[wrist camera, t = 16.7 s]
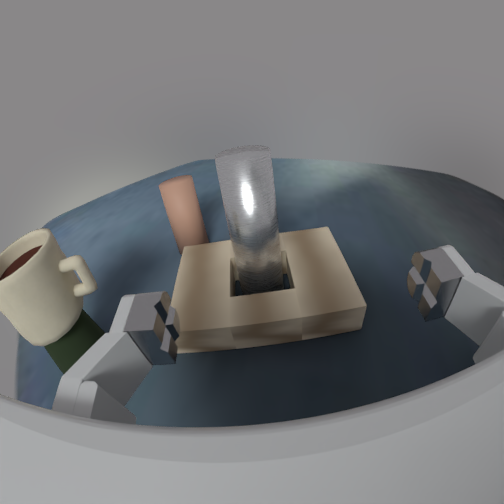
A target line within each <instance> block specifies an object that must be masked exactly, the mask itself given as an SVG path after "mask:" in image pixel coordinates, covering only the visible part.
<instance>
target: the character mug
mask: <svg viewBox="0 0 504 504" xmlns="http://www.w3.org/2000/svg"><path fill="white" fill-rule="evenodd" d="M73 270H76V271H77V273H78V275H79V277H80V279H81V280H82V282H83V283H80V281H79V280H78V278H77V276H76V274H75V272H74V271H73ZM96 289H97V283H96V281H95V279H94V277H93V275H92V273H91V272H90V270H89V268H88V266H87V264H86V262H85V260H84V259H83V258H82V257H81V256H80V255H74V256H71V257H68V258H66V256H65V254H64V253H63V252H62V251H61V249H60V247H59V245H58V243H57V241H56V239H55V237H54V236H53V234H52V233H51V231H50V229H46V228H41V229H37V230H35V231H32V232H30V233H28V234H26V235H24V236H22V237H21V238H19V239H18V240H16V241H15V242H13V243H12V244H11V245H10V246H9V247H7V248H6V249H5V250H4V251H3V252H2V253H1V254H0V311H1V312H2V313H3V314H4V315H5V316H7V318H8V319H9V320H10V321H11V323H12V324H13V325H14V327H15V328H16V329H17V331H18V332H19V333H20V334H21V335H22V336H23V337H24V338H25V339H26V340H28V341H29V342H30V343H31V344H33V345H34V346H44V347H45V349H46V350H47V352H48V353H49V354H50V356H51V357H52V359H53V360H54V362H55V363H56V365H57V366H58V367H59V369H60V370H61V371H62V372H63V374H65V373H66V372H67V371H68V370H69V369H70V368H71V367H72V366H73V365H74V364H75V363H76V362H77V361H78V360H79V359H80V358H81V357H82V356H83V355H84V354H85V353H86V352H87V351H88V350H89V349H90V348H91V347H92V346H93V345H94V344H95V343H96V342H97V341H98V340H99V339H100V338H101V337H102V336H103V335H104V334H105V332H104V331H103V330H102V329H101V328H100V327H99V326H98V325H97V324H96V323H95V322H94V321H93V320H92V319H91V318H90V316H89V315H88V314H87V313H86V312H85V311H84V310H83V309H82V308H83V296H84V295H88V294H91V293H92V292H94V291H95V290H96Z"/></svg>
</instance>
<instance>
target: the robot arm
mask: <svg viewBox="0 0 504 504" xmlns="http://www.w3.org/2000/svg"><path fill="white" fill-rule="evenodd" d="M411 262H412V264H413V267H412V269H411V270H410V271H409V273H408V277H407V285H408V290H409V293H410V295H411V296H412V298H413V299H415V300H416V301H418V302H419V303H418V309H419V311H420V313H421V314H422V316H423V318H424V320H425V322H426V321H430V320H434V319H437V318H440V317H444V316H445V317H444V318H446V319H447V320H448V321H449V322H451V323H452V324H453V325H455V326H456V327H457V328H458V329H459V330H461V331H462V332H463V333H464V334H466V335H467V336H468V337H469V338H471V339H472V340H473V341H474V342H475V343H477V344H478V345H479V346H480V347H479V348H478V350H477V351H476V353H475V354H474V356H473V360H474V362H475V365H473V366H471V367H469V368H467V369H464V370H462V371H460V372H458V373H456V374H453V375H451V376H449V377H447V378H444V379H442V380H439V381H437V382H434V383H432V384H429V385H427V386H424V387H421V388H419V389H416V390H413V391H410V392H407V393H404V394H401V395H398V396H395V397H392V398H389V399H386V400H382V401H379V402H375V403H372V404H368V405H365V406H361V407H357V408H353V409H349V410H344V411H340V412H335V413H331V414H326V415H321V416H315V417H310V418H304V419H297V420H291V421H284V422H276V423H267V424H257V425H245V426H229V427H163V426H147V425H136V417H135V415H134V414H133V413H131V412H130V411H129V410H128V409H126V408H125V407H124V406H125V405H126V404H127V402H128V401H129V399H130V398H131V396H132V395H133V394H134V392H135V391H136V389H137V388H138V386H139V385H140V384H141V382H142V381H143V379H144V378H145V377H146V375H147V374H148V372H149V371H150V370H151V368H152V367H153V366H152V365H166V364H176V357H177V350H178V346H177V345H176V343H175V341H176V339H177V338H178V337H179V336H180V319H179V316H178V313H177V311H176V309H175V308H173V307H172V306H170V302H171V299H170V297H169V295H168V293H167V292H165V291H162V292H151V293H140V294H133V295H124V296H123V297H122V298H121V301H120V304H119V306H118V309H117V312H116V314H115V317H114V320H113V323H112V326H111V329H110V332H109V333H105V334H104V335H103V336H102V337H101V338H100V339H99V340H98V341H97V342H96V343H95V344H94V345H93V346H92V347H91V348H90V349H89V350H88V351H87V352H86V353H85V354H84V355H83V356H82V357H81V358H80V359H79V360H78V361H77V362H76V363H75V364H74V365H73V366H72V367H71V368H70V369H69V370H68V371H67V372H66V373H65V374H64V375H63V376H62V377H61V380H60V384H59V387H58V390H57V393H56V396H55V400H54V403H53V407H52V410H49V409H45V408H42V407H38V406H34V405H31V404H28V403H24V402H21V401H18V400H15V399H12V398H9V397H6V396H4V395H1V394H0V504H504V287H503V286H501V285H499V284H498V283H496V282H494V281H492V280H490V279H489V278H487V277H485V276H483V275H481V274H479V273H474V271H473V270H472V269H471V268H470V266H469V265H468V264H467V263H466V262H465V260H464V259H463V258H462V257H461V256H460V254H459V253H458V252H457V251H456V250H455V249H454V247H453V246H451V245H446V246H441V247H438V248H433V249H428V250H423V251H418V252H415V253H414V255H413V257H412V261H411Z"/></svg>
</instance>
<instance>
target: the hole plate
mask: <svg viewBox="0 0 504 504" xmlns="http://www.w3.org/2000/svg"><path fill="white" fill-rule="evenodd" d="M279 239H280V251H281V262H282V274H287V275H288V279H289V284H290V288H291V289H287V290H280V291H273V292H265V293H258V294H250V295H243V296H235V281H236V280H239V276H238V272H237V267H236V262H235V257H234V252H233V248H232V243H231V240H227V241H220V242H213V243H207V244H200V245H193V246H186V247H184V249H183V253H182V257H181V261H180V266H179V270H178V274H177V278H176V283H175V287H174V292H173V296H172V301H171V306H172V307H173V308H175V309H176V311H177V313H178V316H179V319H180V336H179V337H178V338H177V339H176V341H175V343H176V345H177V346H178V350H177V353H193V352H207V351H219V350H230V349H240V348H249V347H258V346H266V345H273V344H280V343H287V342H294V341H300V340H307V339H313V338H318V337H324V336H329V335H335V334H340V333H345V332H350V331H355V330H359V329H361V328H362V324H363V320H364V315H365V311H366V307H367V305H366V303H365V301H364V299H363V296H362V294H361V292H360V290H359V288H358V286H357V284H356V282H355V279H354V277H353V275H352V273H351V271H350V269H349V267H348V265H347V263H346V261H345V259H344V257H343V255H342V253H341V251H340V249H339V247H338V245H337V243H336V242H335V240H334V238H333V236H332V234H331V232H330V230H329V228H328V227H323V228H315V229H307V230H300V231H292V232H285V233H279Z"/></svg>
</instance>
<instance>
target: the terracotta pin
mask: <svg viewBox="0 0 504 504" xmlns="http://www.w3.org/2000/svg"><path fill="white" fill-rule="evenodd" d="M159 188H160V191H161V195H162V198H163V202H164V205H165V208H166V211H167V215H168V218H169V221H170V224H171V227H172V231H173V234H174V237H175V240H176V243H177V246H178V249H179V252H180V254H182V253H183V249H184V247H186V246H193V245H200V244H207V243H209V240H208V237H207V233H206V229H205V226H204V222H203V218H202V214H201V210H200V207H199V203H198V199H197V195H196V191H195V187H194V183H193V179H192V176H191V175H183V176H178V177H174V178H171V179H169V180H166V181H164V182H163V183H161V184H160V185H159Z"/></svg>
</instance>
